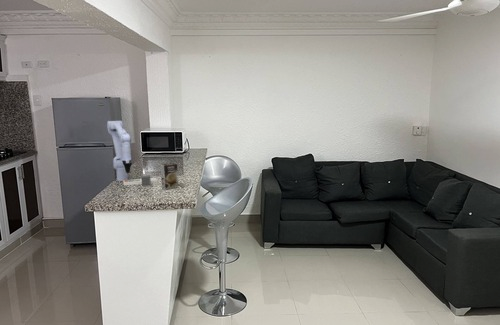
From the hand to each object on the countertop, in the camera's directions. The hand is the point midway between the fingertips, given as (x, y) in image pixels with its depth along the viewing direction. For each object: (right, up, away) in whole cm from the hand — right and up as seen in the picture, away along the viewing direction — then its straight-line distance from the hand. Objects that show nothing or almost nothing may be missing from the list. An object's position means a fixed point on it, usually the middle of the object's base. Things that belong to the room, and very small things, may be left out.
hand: (127, 171), depth 255 cm
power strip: (+7, -9, +6) cm, 12 cm away
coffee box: (+30, -11, -5) cm, 32 cm away
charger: (+13, -10, -1) cm, 17 cm away
